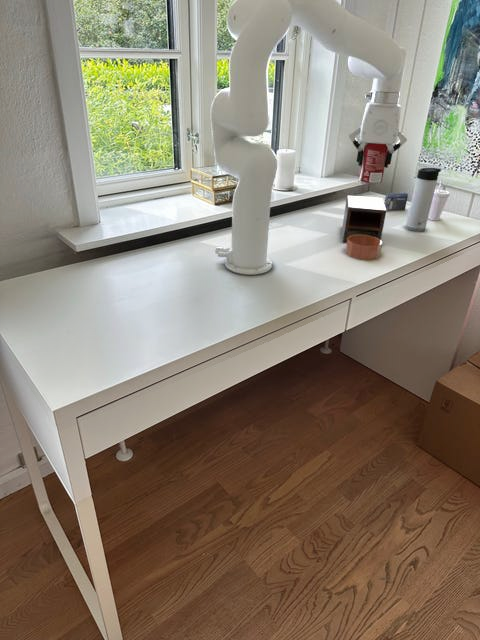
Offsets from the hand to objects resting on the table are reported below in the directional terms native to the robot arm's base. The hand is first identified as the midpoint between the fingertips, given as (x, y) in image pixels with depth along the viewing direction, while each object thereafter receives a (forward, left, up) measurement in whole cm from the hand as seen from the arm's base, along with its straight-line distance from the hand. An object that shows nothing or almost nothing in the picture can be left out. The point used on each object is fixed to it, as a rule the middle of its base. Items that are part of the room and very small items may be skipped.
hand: (372, 165), depth 137 cm
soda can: (0, 0, -5) cm, 5 cm away
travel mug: (+19, +14, -22) cm, 32 cm away
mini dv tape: (+14, +34, -22) cm, 43 cm away
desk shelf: (0, +1, -22) cm, 22 cm away
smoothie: (+27, +27, -22) cm, 44 cm away
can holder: (0, -13, -22) cm, 26 cm away
